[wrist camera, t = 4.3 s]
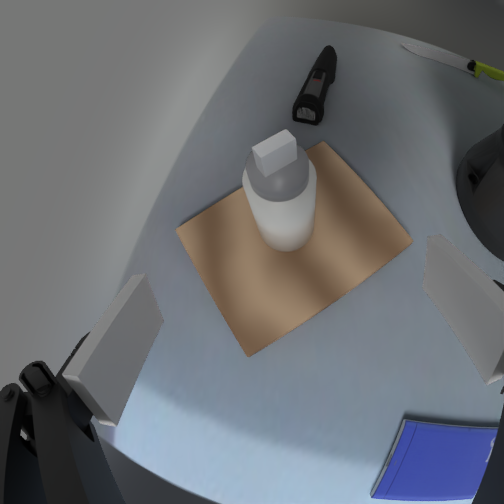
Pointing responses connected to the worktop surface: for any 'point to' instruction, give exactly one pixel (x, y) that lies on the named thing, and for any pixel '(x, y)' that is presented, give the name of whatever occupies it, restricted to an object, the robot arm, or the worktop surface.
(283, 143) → the white bottle
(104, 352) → the robot arm
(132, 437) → the worktop surface
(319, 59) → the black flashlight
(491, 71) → the kitchen knife
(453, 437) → the hard drive
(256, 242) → the board
